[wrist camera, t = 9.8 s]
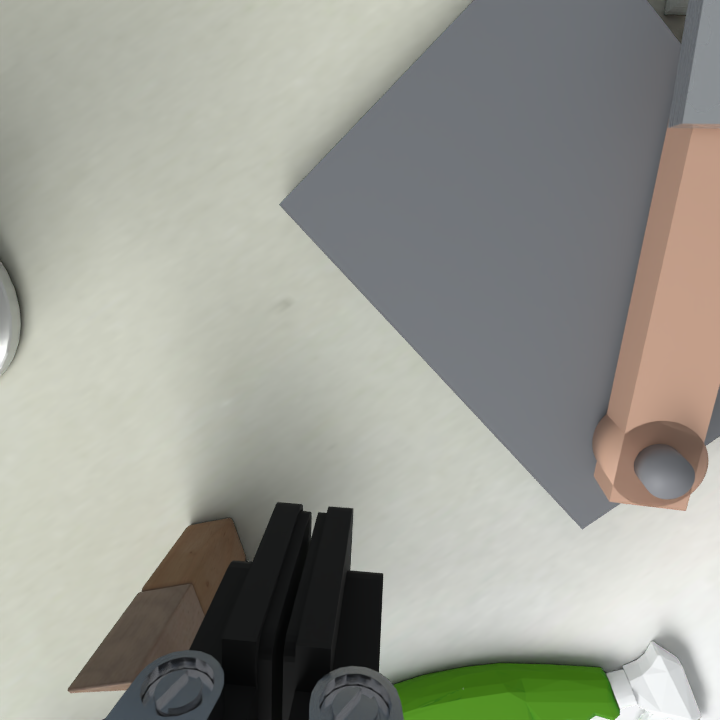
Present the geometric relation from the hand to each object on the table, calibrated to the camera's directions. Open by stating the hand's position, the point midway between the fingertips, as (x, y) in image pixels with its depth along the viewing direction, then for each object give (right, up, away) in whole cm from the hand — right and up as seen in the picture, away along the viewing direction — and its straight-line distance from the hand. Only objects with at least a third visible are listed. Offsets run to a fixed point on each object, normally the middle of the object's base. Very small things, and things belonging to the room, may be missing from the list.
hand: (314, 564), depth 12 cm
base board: (+13, +10, +20) cm, 26 cm away
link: (+18, +9, +18) cm, 26 cm away
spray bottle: (+12, -21, +30) cm, 39 cm away
